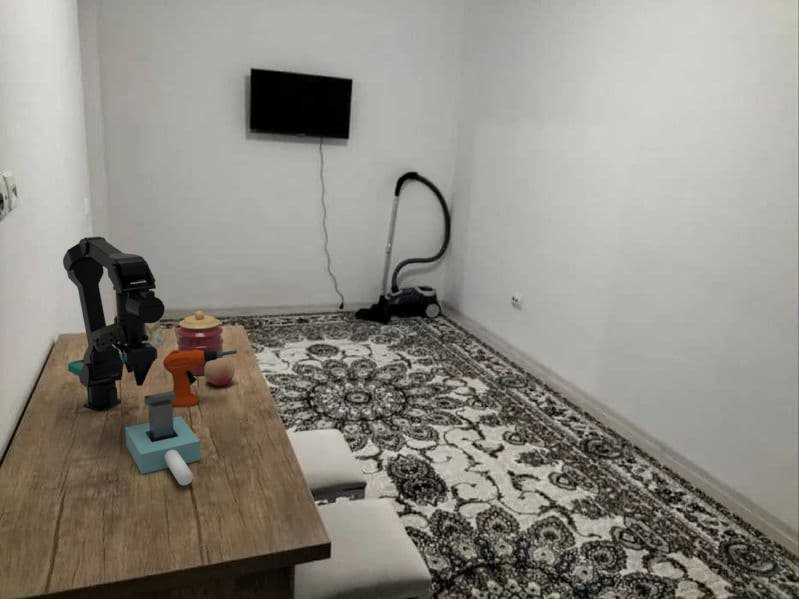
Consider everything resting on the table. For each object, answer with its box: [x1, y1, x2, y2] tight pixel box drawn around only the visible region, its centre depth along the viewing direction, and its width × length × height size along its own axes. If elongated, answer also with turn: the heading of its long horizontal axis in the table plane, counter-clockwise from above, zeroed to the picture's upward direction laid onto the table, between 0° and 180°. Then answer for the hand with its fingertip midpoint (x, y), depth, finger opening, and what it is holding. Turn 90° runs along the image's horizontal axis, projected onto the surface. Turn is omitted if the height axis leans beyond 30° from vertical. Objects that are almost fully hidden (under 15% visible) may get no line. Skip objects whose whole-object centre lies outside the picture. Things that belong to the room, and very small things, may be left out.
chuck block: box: [124, 415, 201, 486], centre depth 133 cm, size 24×12×4 cm, turn 35°
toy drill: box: [162, 349, 238, 408], centre depth 162 cm, size 5×19×15 cm, turn 105°
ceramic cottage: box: [117, 319, 165, 352], centre depth 203 cm, size 16×16×15 cm
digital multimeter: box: [67, 352, 125, 376], centre depth 184 cm, size 7×15×3 cm, turn 144°
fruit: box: [203, 357, 235, 387], centre depth 175 cm, size 8×8×8 cm
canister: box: [176, 310, 224, 376], centre depth 185 cm, size 13×13×18 cm
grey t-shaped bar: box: [143, 390, 176, 442], centre depth 136 cm, size 4×6×14 cm, turn 124°
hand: (134, 378), depth 143 cm, fingers open, 9 cm apart
